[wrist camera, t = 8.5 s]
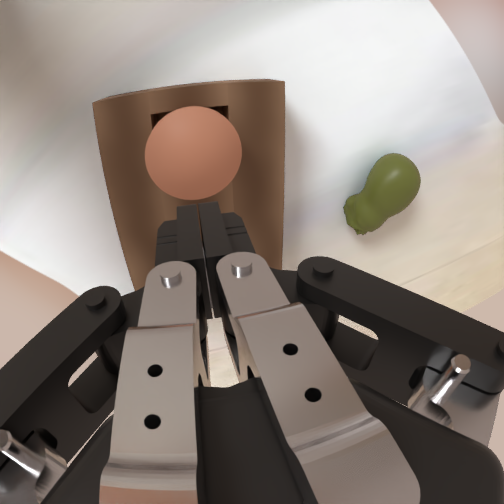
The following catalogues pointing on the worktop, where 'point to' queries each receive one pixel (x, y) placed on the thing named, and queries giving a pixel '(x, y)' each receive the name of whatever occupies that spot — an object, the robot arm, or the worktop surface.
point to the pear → (383, 193)
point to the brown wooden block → (229, 199)
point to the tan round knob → (193, 153)
